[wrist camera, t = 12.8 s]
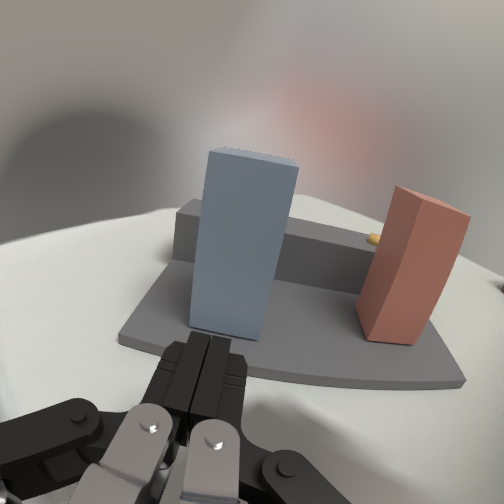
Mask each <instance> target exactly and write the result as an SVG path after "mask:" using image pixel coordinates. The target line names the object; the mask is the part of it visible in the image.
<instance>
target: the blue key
mask: <svg viewBox="0 0 504 504" xmlns="http://www.w3.org/2000/svg"><path fill="white" fill-rule="evenodd" d="M298 170H299V167H298V166H297V164H296V163H295V161H294V160H291V159H287V158H282V157H277V156H272V155H267V154H261V153H256V152H251V151H245V150H239V149H233V148H226V147H223V148H219V149H215V150H212V151H209V156H208V163H207V169H206V176H205V183H204V190H203V198H202V205H201V212H200V220H199V229H198V237H197V246H196V255H195V264H194V274H193V285H192V296H191V308H190V321H189V326H191V327H195V328H200V329H204V330H209V331H213V332H218V333H223V334H228V335H233V336H238V337H243V338H248V339H254V340H258V339H259V335H260V331H261V327H262V323H263V319H264V315H265V311H266V308H267V304H268V299H269V295H270V291H271V287H272V283H273V279H274V275H275V271H276V267H277V263H278V258H279V254H280V250H281V246H282V241H283V237H284V233H285V229H286V224H287V220H288V215H289V211H290V207H291V202H292V198H293V193H294V188H295V184H296V179H297V175H298Z"/></svg>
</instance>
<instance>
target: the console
mask: <svg viewBox="0 0 504 504" xmlns="http://www.w3.org/2000/svg"><path fill="white" fill-rule="evenodd" d="M201 205H202V200H198V199H192V200H191V201H189V202H188V203H187V204H186V205H185V206H183V207H182V208H181V209H180V210H179V211H177V212H176V221H175V233H174V245H173V259H172V260H171V262H170V263H169V264H168V265H167V267H166V268H165V269H164V271H163V272H162V273H161V275H160V276H159V277H158V279H157V280H156V281H155V283H154V284H153V285H152V287H151V288H150V290H149V291H148V292H147V294H146V295H145V296H144V298H143V299H142V300H141V302H140V303H139V305H138V306H137V307H136V309H135V310H134V312H133V313H132V314H131V316H130V317H129V319H128V320H127V321H126V323H125V324H124V326H123V327H122V329H121V330H120V331H119V333H118V336H119V344H121V345H125V346H128V347H131V348H134V349H137V350H141V351H144V352H148V353H151V354H155V355H158V356H162V355H163V353H164V350H165V348H166V347H168V346H169V345H170V344H171V343H173V342H174V341H179V342H183V343H187V340H188V338H189V335H190V333H191V331H197V332H201V333H206V334H210V335H211V338H212V335H215V336H220V337H225V338H230V339H232V341H231V346H230V352H229V353H235V354H240V355H244V358H245V360H246V363H247V365H248V370H247V376H252V377H258V378H264V379H271V380H277V381H285V382H292V383H300V384H309V385H318V386H329V387H341V388H355V389H376V390H435V389H454V388H461V387H462V385H463V384H464V383H465V381H466V378H465V377H464V375H463V373H462V371H461V370H460V368H459V366H458V364H457V363H456V361H455V359H454V358H453V356H452V354H451V353H450V351H449V349H448V348H447V346H446V345H445V343H444V341H443V340H442V338H441V337H440V335H439V334H438V332H437V330H436V329H435V327H434V326H433V324H432V323H431V321H430V320H429V319H428V321H427V323H426V325H425V327H424V329H423V331H422V332H421V334H420V336H419V338H418V340H417V341H416V343H415V345H411V344H399V343H389V342H379V341H370V340H367V339H366V336H365V333H364V331H363V328H362V325H361V322H360V320H359V317H358V315H357V312H356V309H355V305H356V303H357V300H358V298H359V295H360V293H361V290H362V287H363V285H364V282H365V280H366V277H367V274H368V271H369V269H370V266H371V263H372V260H373V257H374V255H375V252H376V249H377V246H378V243H379V240H380V237H381V236H380V235H377V234H372V233H371V234H370V235H368V234H364V233H359V232H355V231H351V230H347V229H342V228H338V227H333V226H329V225H324V224H320V223H315V222H311V221H306V220H301V219H297V218H292V217H288V220H287V224H286V229H285V233H284V237H283V241H282V246H281V250H280V254H279V258H278V263H277V267H276V271H275V275H274V279H273V283H272V287H271V291H270V295H269V299H268V304H267V308H266V311H265V315H264V319H263V323H262V327H261V331H260V335H259V339H258V340H254V339H248V338H243V337H238V336H233V335H228V334H223V333H218V332H213V331H209V330H204V329H200V328H195V327H191V326H189V321H190V308H191V296H192V285H193V274H194V264H195V255H196V246H197V237H198V229H199V220H200V212H201Z"/></svg>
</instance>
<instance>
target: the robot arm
mask: <svg viewBox="0 0 504 504" xmlns="http://www.w3.org/2000/svg"><path fill="white" fill-rule="evenodd" d="M231 341H232V339H230V338H225V337H220V336H215V335H212V338H211V335H210V334H206V333H201V332H197V331H191V333H190V335H189V338H188V340H187V343H183V342H179V341H174V342H173V343H171V344H170V345H169V346H168V347H166V348H165V350H164V353H163V355H162V357H161V360H160V361H159V363H158V366H157V369H156V370H155V372H154V374H153V377H152V379H151V381H150V383H149V386H148V388H147V390H146V392H145V395H144V397H143V399H142V401H141V402H140V404H139V405H136V406H134V407H133V408H131V409H130V410H129V411H126V412H119V413H116V412H103V411H98V409H97V407H96V406H95V405H94V404H93V403H91V402H90V401H88V400H86V399H82V398H73V399H70V400H67V401H64V402H61V403H59V404H56V405H53V406H50V407H47V408H45V409H42V410H39V411H36V412H33V413H30V414H27V415H24V416H21V417H18V418H15V419H12V420H8V421H5V422H2V423H0V504H22V503H21V501H23V500H26V499H30V498H33V497H36V496H39V495H42V494H46V493H48V492H51V491H54V490H57V489H60V488H63V487H65V486H68V485H70V484H73V483H76V482H78V481H79V483H78V485H77V487H76V488H75V490H74V492H73V494H72V496H71V498H70V499H69V501H68V503H67V504H159V502H160V500H161V497H162V494H163V492H164V489H165V487H166V484H167V481H168V479H169V476H170V473H171V471H172V468H173V466H174V463H175V459H176V456H177V452H178V449H179V445H181V446H185V447H187V443H188V439H189V446H188V447H189V449H188V455H187V461H186V468H185V475H184V482H183V488H182V494H181V496H180V501H179V504H240V502H239V499H238V498H240V499H242V500H244V501H247V502H248V504H351V503H350V502H349V501H348V500H347V499H346V498H345V497H344V496H343V495H342V494H341V493H340V492H338V491H337V490H336V489H335V488H334V487H333V486H332V485H331V484H330V483H329V482H328V481H327V480H326V479H325V478H324V477H323V476H322V475H321V474H320V473H319V471H318V470H316V468H315V467H314V466H313V465H312V464H311V463H310V462H309V461H308V460H307V459H306V458H305V457H304V456H303V455H301V454H300V453H297V452H295V451H291V450H279V451H275V452H273V453H272V452H270V451H267V450H265V449H262V448H260V447H257V446H256V445H254V444H252V443H251V442H250V441H248V440H247V439H246V437H245V436H244V434H243V433H242V430H241V417H242V409H243V401H244V393H245V385H246V378H247V370H248V365H247V363H246V360H245V358H244V355H240V354H235V353H229V352H230V346H231Z"/></svg>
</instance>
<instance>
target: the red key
mask: <svg viewBox="0 0 504 504" xmlns="http://www.w3.org/2000/svg"><path fill="white" fill-rule="evenodd" d="M470 218H471V217H470V216H468V215H467V214H465V213H463V212H461V211H459V210H458V209H456V208H454V207H452V206H450V205H448V204H446V203H444V202H442V201H440V200H437V199H435V198H432V197H429V196H426V195H423V194H421V193H417V192H415V191H412V190H409V189H405V188H403V187H400V186H395V190H394V194H393V197H392V201H391V205H390V208H389V211H388V214H387V218H386V221H385V224H384V227H383V230H382V234H381V237H380V240H379V243H378V246H377V249H376V252H375V255H374V257H373V260H372V263H371V266H370V269H369V271H368V274H367V277H366V280H365V282H364V285H363V287H362V290H361V293H360V295H359V298H358V300H357V303H356V305H355V309H356V312H357V315H358V317H359V320H360V322H361V325H362V328H363V331H364V333H365V336H366V339H367V340H370V341H379V342H389V343H399V344H411V345H415V343H416V341H417V340H418V338H419V336H420V334H421V332H422V331H423V329H424V327H425V325H426V323H427V321H428V319H429V317H430V315H431V313H432V311H433V309H434V307H435V305H436V303H437V301H438V299H439V297H440V295H441V293H442V291H443V288H444V286H445V284H446V282H447V279H448V277H449V275H450V272H451V270H452V268H453V265H454V263H455V260H456V258H457V255H458V253H459V250H460V247H461V245H462V242H463V239H464V236H465V233H466V230H467V227H468V224H469V221H470Z"/></svg>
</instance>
